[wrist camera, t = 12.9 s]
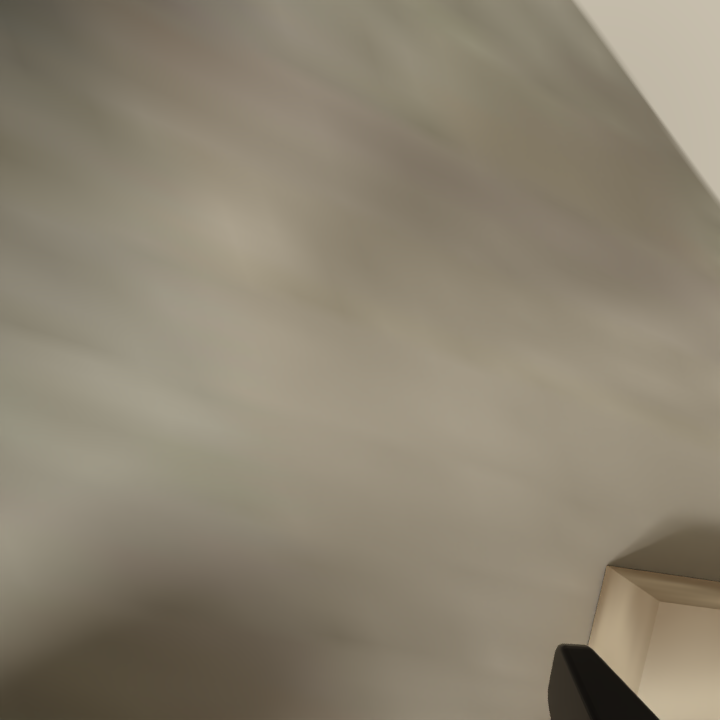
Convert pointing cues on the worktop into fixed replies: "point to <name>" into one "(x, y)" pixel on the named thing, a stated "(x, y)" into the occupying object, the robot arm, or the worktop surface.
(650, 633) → the shallow cream tray
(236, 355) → the worktop surface
